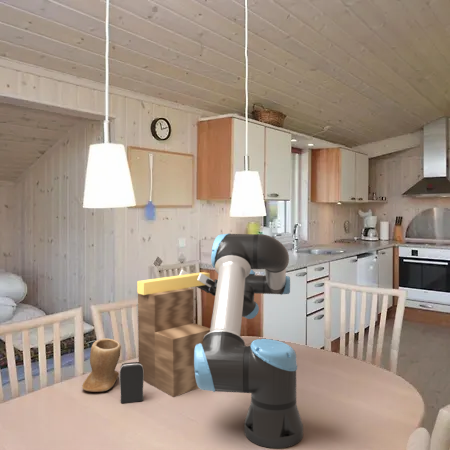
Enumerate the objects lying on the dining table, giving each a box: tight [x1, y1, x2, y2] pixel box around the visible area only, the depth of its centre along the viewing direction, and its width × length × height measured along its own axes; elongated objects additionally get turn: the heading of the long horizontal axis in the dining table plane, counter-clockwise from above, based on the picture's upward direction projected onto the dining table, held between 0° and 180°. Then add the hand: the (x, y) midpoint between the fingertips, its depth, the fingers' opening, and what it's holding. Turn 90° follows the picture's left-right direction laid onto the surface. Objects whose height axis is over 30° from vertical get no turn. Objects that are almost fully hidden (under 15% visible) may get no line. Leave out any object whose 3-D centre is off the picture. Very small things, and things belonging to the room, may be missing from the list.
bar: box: [136, 271, 211, 295], centre depth 152 cm, size 28×4×4 cm, turn 133°
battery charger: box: [119, 361, 144, 404], centre depth 132 cm, size 7×4×11 cm, turn 103°
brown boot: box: [81, 337, 122, 393], centre depth 143 cm, size 15×12×15 cm
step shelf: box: [137, 287, 211, 398], centre depth 146 cm, size 16×20×30 cm
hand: (189, 274), depth 156 cm, fingers open, 10 cm apart
